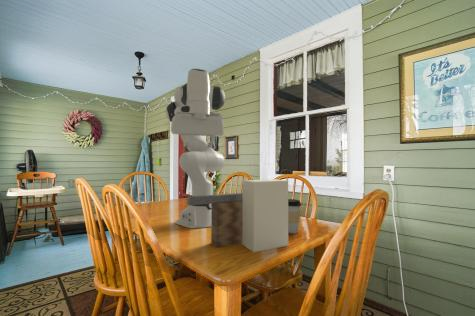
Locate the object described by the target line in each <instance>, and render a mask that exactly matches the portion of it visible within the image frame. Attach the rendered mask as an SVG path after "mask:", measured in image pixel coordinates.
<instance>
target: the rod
mask: <svg viewBox="0 0 475 316" xmlns="http://www.w3.org/2000/svg"><path fill="white" fill-rule="evenodd" d="M186 199H187V201H186V204H187V206H189V205H201V204H213V203H226V202H239V201H243V192H238V193H224V194H220V193H219V194H213V195H202V196H192V195H190V196H187V198H186Z"/></svg>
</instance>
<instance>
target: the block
mask: <svg viewBox="0 0 475 316" xmlns="http://www.w3.org/2000/svg"><path fill="white" fill-rule="evenodd" d="M210 228H211V229H210V230H211V235H210V236H211V237H210V238H211V239H210V240H211V244H212V245H213V246H214V247H215V248H222V247H228V246H234V245H235V246H236V245H241V244H242V237H243V201H239V202H226V203H213V204H212V217H211V226H210Z"/></svg>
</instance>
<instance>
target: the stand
mask: <svg viewBox="0 0 475 316" xmlns="http://www.w3.org/2000/svg"><path fill="white" fill-rule="evenodd" d="M242 193H243V237H242V243H241V244H242V246H244V247H245V248H247V249H248V250H250V251H251V252H253V253H257V252H262V251H268V250H273V249H278V248H283V247H288V246H289V233H288V199H289V180H286V179H275V178H272V179H271V178H270V179H244V180H242Z"/></svg>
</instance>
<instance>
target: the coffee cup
mask: <svg viewBox="0 0 475 316" xmlns="http://www.w3.org/2000/svg"><path fill="white" fill-rule="evenodd" d="M301 206H302V202H301V201H300V200H299V199H294V198H293V199H292V198H288V234H297V233H298V232H299V225H300V224H299V223H300V220H301V219H300V217H301V216H300V215H301Z"/></svg>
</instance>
